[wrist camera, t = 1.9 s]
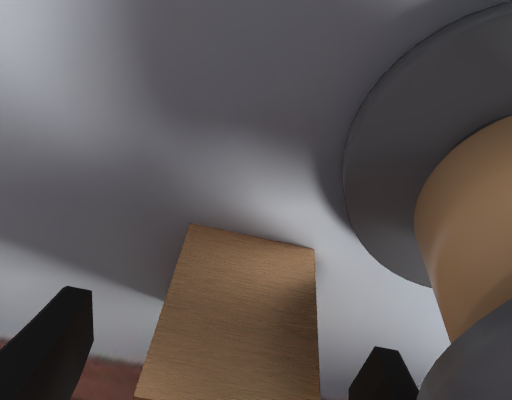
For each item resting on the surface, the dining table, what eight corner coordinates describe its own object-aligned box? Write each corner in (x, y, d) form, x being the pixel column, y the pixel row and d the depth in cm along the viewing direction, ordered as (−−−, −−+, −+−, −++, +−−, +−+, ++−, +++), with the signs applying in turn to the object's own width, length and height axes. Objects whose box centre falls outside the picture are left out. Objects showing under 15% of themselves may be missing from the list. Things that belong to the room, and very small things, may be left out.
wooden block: (284, 326, 14) (278, 502, 10) (178, 304, 14) (128, 476, 10) (314, 248, 12) (321, 430, 8) (190, 222, 12) (133, 395, 8)
